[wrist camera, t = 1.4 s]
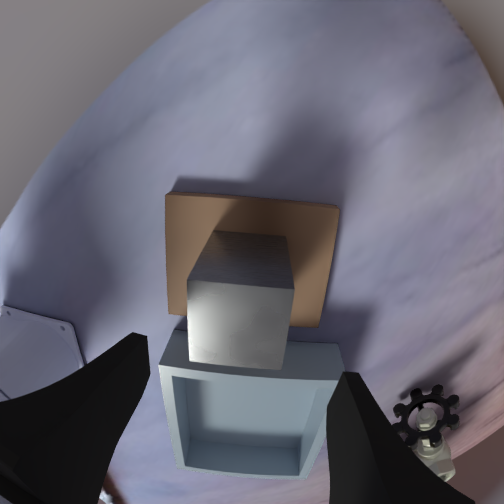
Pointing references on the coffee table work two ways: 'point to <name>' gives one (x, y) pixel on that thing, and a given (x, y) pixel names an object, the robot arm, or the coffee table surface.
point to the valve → (429, 429)
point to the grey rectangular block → (240, 300)
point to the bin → (249, 410)
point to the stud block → (260, 222)
